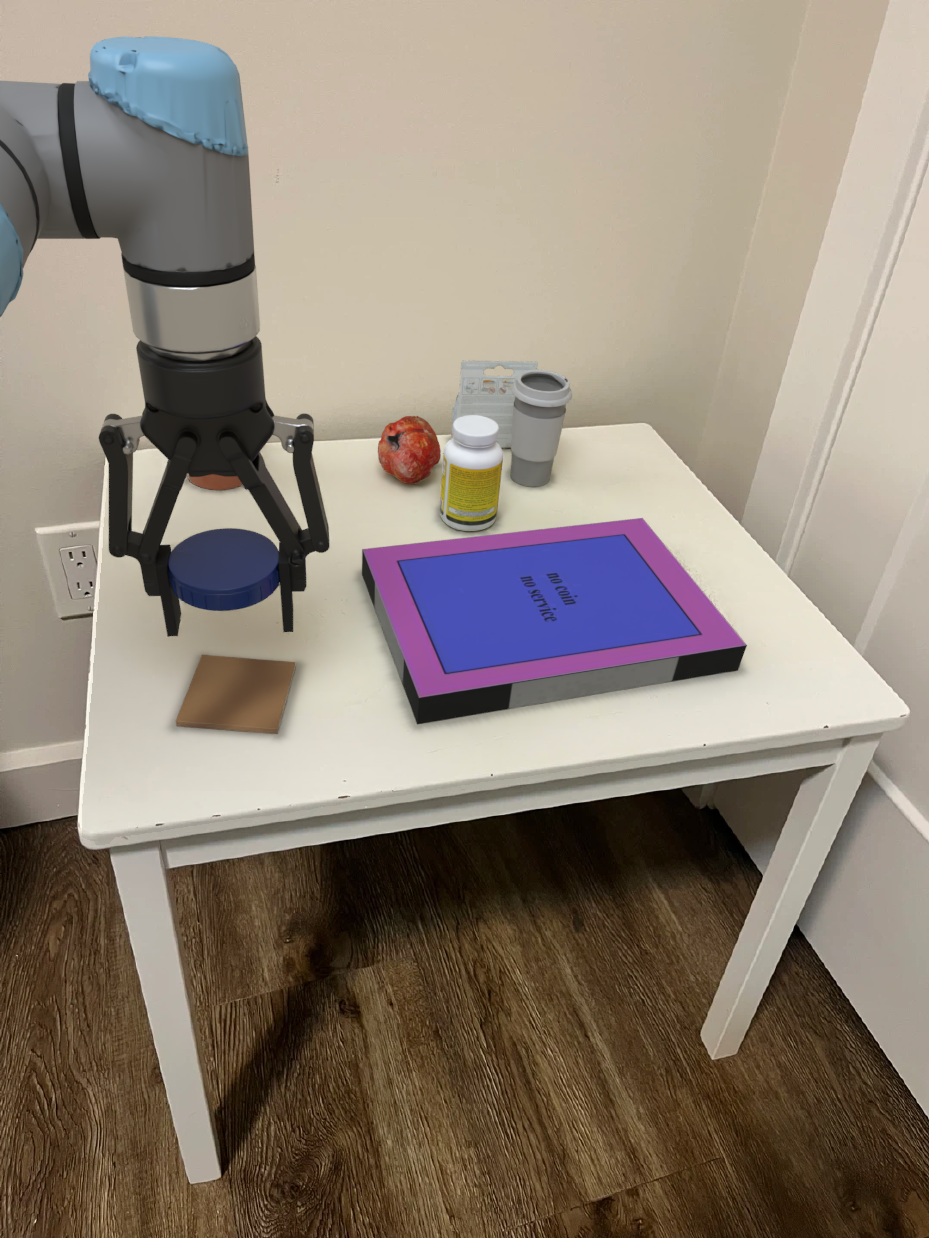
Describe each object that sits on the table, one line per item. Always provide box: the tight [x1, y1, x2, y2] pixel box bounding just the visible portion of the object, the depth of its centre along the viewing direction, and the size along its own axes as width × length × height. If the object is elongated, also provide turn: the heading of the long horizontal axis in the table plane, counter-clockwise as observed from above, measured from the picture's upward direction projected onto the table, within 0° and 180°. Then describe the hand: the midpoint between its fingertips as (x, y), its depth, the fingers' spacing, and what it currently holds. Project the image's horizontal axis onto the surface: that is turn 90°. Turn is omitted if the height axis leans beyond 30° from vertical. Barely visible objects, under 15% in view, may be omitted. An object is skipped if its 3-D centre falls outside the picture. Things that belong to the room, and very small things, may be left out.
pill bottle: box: [439, 415, 504, 532], centre depth 95 cm, size 6×6×11 cm
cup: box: [509, 368, 573, 488], centre depth 103 cm, size 7×7×12 cm
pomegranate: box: [377, 415, 442, 485], centre depth 103 cm, size 7×7×10 cm
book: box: [361, 517, 748, 725], centre depth 85 cm, size 21×3×30 cm
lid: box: [168, 527, 280, 612], centre depth 67 cm, size 8×8×2 cm
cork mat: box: [175, 654, 297, 735], centre depth 75 cm, size 8×8×1 cm
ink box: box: [450, 359, 539, 449], centre depth 109 cm, size 3×9×12 cm, turn 98°
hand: (232, 622), depth 70 cm, fingers closed on lid, 8 cm apart
